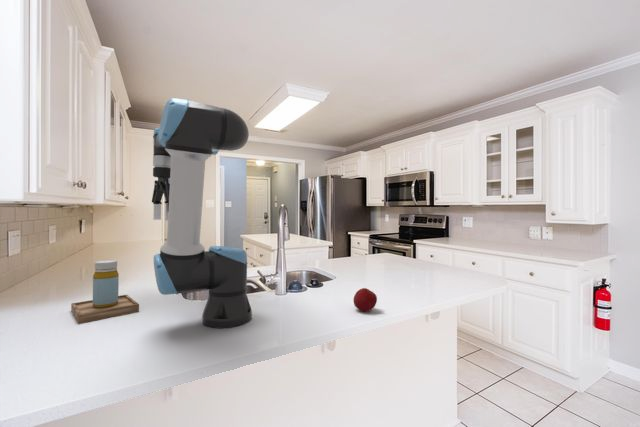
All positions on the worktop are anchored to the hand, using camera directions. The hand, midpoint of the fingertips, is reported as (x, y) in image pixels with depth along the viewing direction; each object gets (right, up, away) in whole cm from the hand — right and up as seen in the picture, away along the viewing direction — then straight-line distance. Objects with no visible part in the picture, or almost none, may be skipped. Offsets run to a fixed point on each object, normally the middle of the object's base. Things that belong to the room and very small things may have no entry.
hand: (162, 220), depth 119 cm
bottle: (-9, -29, -19) cm, 36 cm away
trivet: (-9, -31, -19) cm, 37 cm away
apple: (+80, -32, -15) cm, 87 cm away
